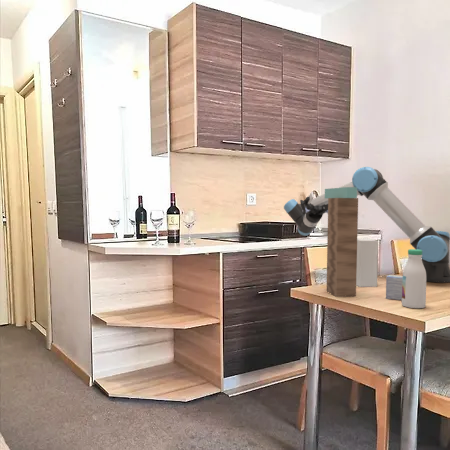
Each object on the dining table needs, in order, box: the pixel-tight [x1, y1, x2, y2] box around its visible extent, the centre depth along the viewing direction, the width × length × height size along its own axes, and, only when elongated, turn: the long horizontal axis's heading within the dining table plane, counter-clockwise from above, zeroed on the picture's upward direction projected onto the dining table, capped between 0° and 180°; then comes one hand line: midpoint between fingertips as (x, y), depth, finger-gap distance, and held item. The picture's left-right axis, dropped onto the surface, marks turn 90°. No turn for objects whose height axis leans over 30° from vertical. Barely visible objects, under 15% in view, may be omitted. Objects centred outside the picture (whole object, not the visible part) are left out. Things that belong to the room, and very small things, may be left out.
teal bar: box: [324, 187, 358, 198], centre depth 173 cm, size 22×4×4 cm, turn 9°
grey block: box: [356, 238, 379, 288], centre depth 192 cm, size 10×8×20 cm
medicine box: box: [385, 274, 403, 301], centre depth 164 cm, size 8×4×9 cm, turn 58°
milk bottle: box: [401, 248, 427, 309], centre depth 152 cm, size 8×8×20 cm
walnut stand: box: [326, 197, 359, 298], centre depth 171 cm, size 10×8×38 cm
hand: (327, 194), depth 195 cm, fingers open, 13 cm apart
